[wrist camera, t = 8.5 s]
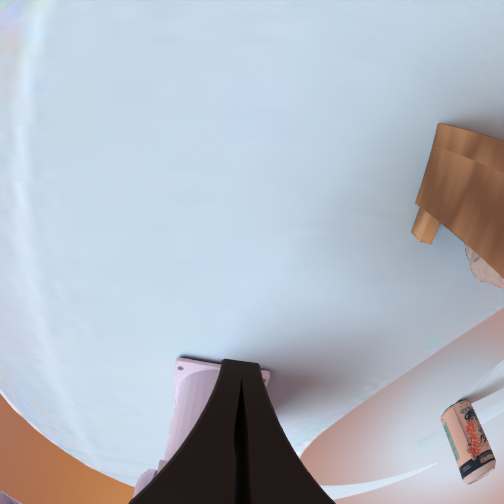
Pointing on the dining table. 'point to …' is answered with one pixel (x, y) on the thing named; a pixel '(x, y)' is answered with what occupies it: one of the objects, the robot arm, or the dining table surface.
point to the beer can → (468, 441)
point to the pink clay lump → (483, 269)
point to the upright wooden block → (465, 192)
